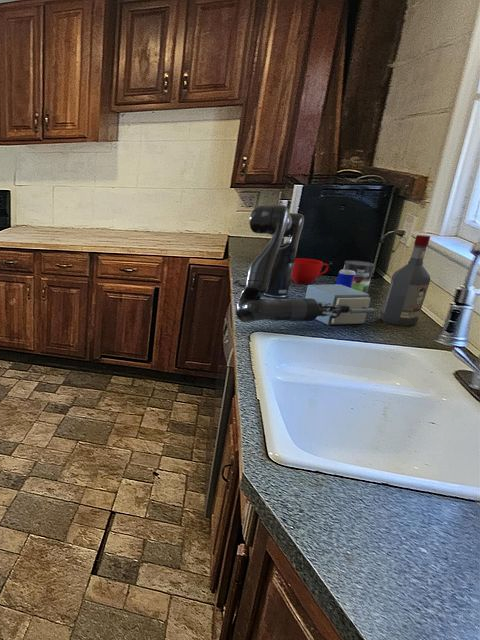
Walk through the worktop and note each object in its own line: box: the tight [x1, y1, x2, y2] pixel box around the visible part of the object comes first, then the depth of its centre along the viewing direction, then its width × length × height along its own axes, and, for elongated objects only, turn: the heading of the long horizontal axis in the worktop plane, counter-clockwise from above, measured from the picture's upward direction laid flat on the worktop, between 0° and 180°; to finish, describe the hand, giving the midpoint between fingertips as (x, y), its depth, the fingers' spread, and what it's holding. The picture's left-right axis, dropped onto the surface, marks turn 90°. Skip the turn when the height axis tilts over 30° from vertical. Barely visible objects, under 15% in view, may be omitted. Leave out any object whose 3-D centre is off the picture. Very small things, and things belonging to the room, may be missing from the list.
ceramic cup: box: [291, 257, 330, 285], centre depth 239 cm, size 13×17×10 cm
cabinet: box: [304, 283, 370, 326], centre depth 188 cm, size 15×13×11 cm
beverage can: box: [335, 268, 355, 288], centre depth 197 cm, size 5×5×15 cm
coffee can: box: [343, 260, 376, 294], centre depth 216 cm, size 10×10×14 cm
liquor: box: [380, 234, 431, 327], centre depth 181 cm, size 9×9×30 cm
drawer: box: [331, 296, 376, 325], centre depth 184 cm, size 18×11×9 cm, turn 5°
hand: (347, 308), depth 176 cm, fingers closed
